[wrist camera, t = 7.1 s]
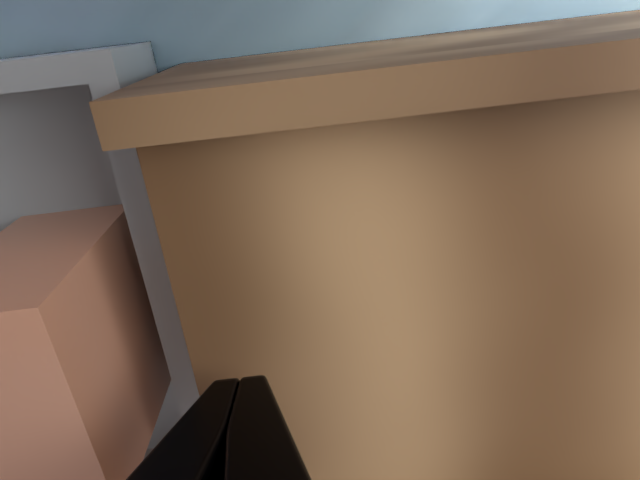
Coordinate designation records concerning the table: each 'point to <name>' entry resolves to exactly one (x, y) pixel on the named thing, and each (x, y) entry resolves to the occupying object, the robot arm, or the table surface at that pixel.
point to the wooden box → (412, 243)
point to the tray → (88, 175)
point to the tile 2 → (76, 349)
